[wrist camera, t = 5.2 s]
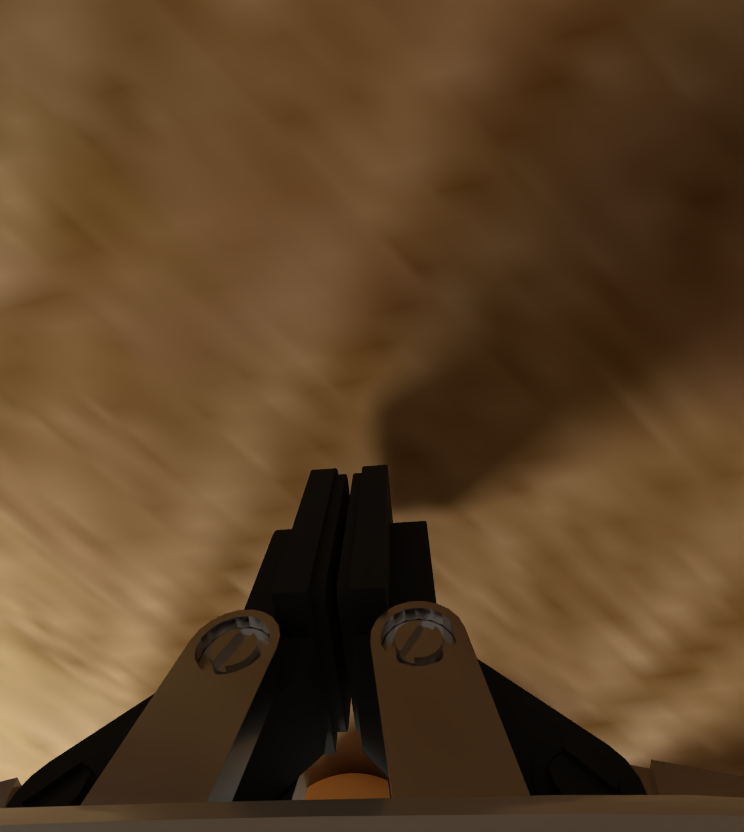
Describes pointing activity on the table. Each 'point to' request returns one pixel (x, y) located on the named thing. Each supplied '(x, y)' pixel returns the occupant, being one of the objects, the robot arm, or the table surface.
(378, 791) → the ball
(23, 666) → the table surface
